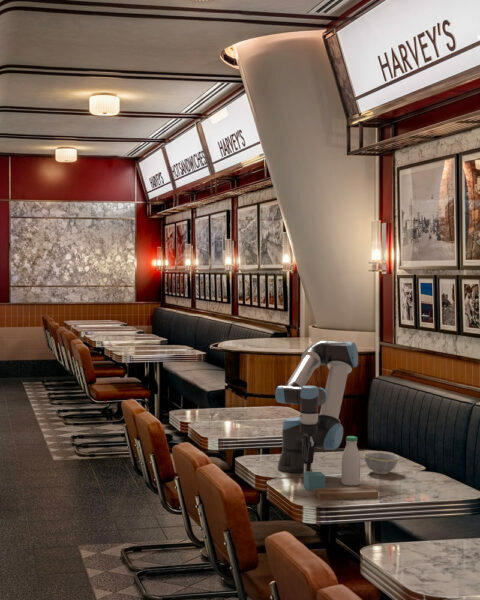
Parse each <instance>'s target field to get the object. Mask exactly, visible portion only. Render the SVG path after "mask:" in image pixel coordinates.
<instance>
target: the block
mask: <svg viewBox="0 0 480 600" xmlns="http://www.w3.org/2000/svg"><path fill="white" fill-rule="evenodd" d="M303 487H304V488H305V489H306V490H307V491H314V489H318V488H326V475H325V474H324V473H322V472H321V471H311V472H303Z"/></svg>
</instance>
